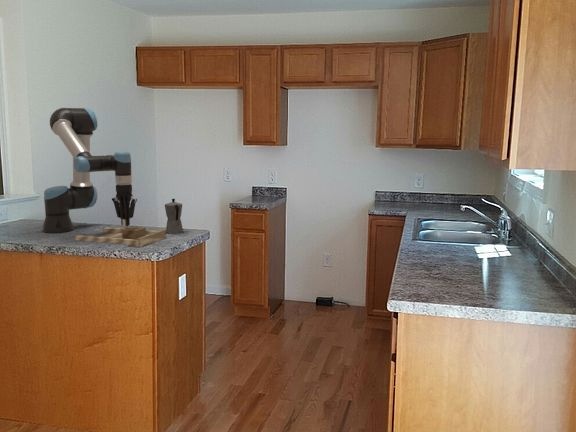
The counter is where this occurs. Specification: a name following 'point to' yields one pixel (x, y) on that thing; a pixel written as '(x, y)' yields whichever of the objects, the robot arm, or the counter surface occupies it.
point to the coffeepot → (173, 217)
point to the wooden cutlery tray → (116, 237)
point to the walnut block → (133, 233)
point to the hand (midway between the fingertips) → (125, 232)
